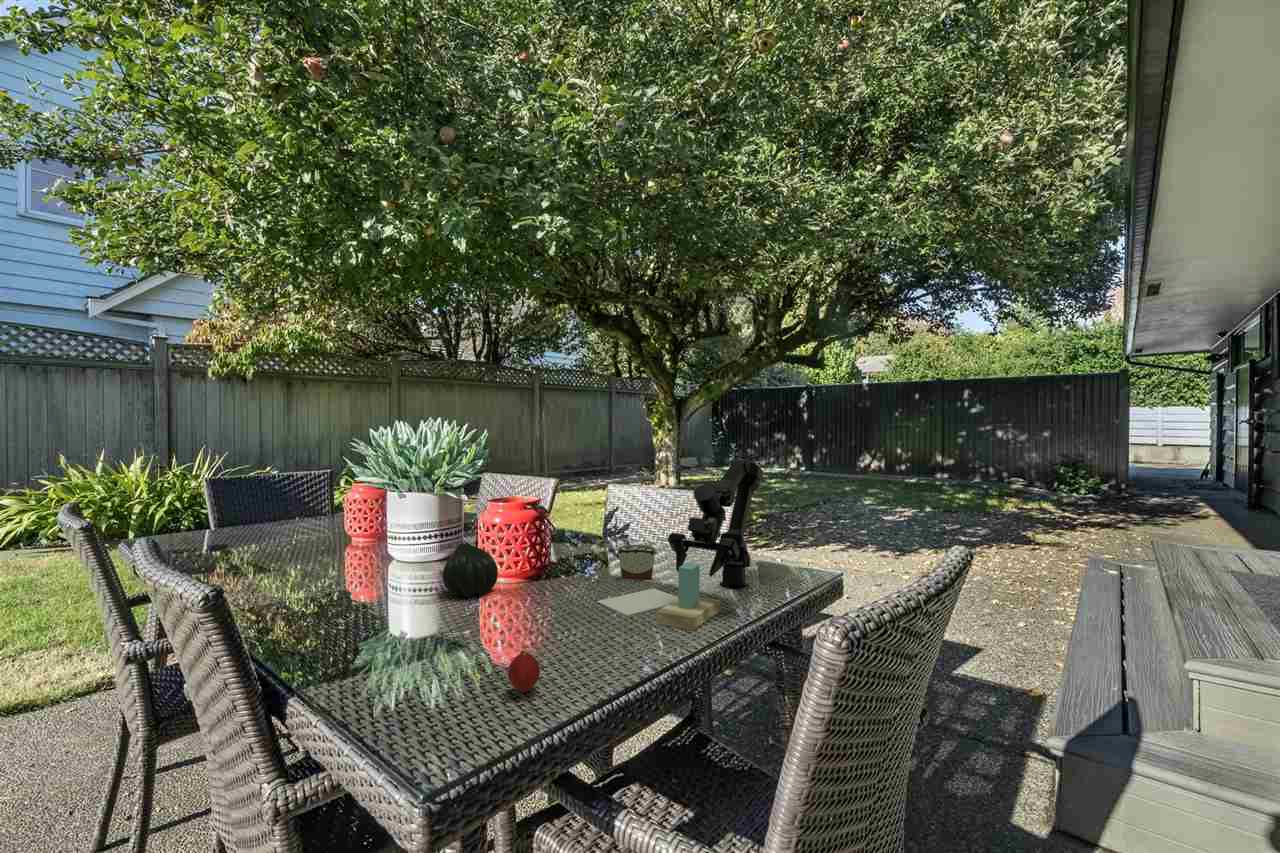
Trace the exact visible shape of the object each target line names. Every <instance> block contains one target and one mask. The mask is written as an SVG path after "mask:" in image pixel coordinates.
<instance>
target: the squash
mask: <svg viewBox="0 0 1280 853" xmlns="http://www.w3.org/2000/svg"><path fill="white" fill-rule="evenodd" d="M498 575H499V572H498V566H497V563H496V561H495V559H494V558H493V556H492V555H491V554H490V553H489V552H487V551H486V550H484V549H482V548H479V547H477V546H474V545H473V544H472V545H471V544H468V543H462V542H461V543H459V544H458V545H457V546H456V548H455V550H454V551H453V553H452V554H451V555H450V557H449V559H448V561H447V562H446V563H445V566H444V567H443V571H442V582H443V585H444V587H445V588H446V590H448V591H449V592H450V593H452V594H453V595H455V597H458V598H460V597H461V596H463V597H466V598H471V597H473V596H475V594H482V593H487V592H488V591H491V589H493V588H494V587H495V586H496V583H497V581H498ZM486 591H487V592H486ZM461 598H462V597H461Z"/></svg>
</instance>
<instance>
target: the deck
mask: <svg viewBox="0 0 1280 853" xmlns="http://www.w3.org/2000/svg"><path fill="white" fill-rule="evenodd" d="M678 602H679V598H678V599H676V600H675V601H673V602H671V603H670V604H668V605H666V606H665V607H663V608H659V609H657V610H656V624H658V625H662V626H667V627H668V626H669V627H673V628H679V629H683V630H688V631H693V632H695V631H696V630H697V629H699V626H700V627H701V626H703V625H704V624H705V623H706V622H708V621H709V620H710V619H711V617H712V618H713V617H714V616H716V615H717V614H718V613H720V599H714V598H708V597H701V596H699V605H697V606H696V607H694V608H693V609H686V608H680V607H678ZM715 614H716V615H715ZM707 620H708V621H707ZM703 623H704V624H703ZM695 629H696V630H695Z"/></svg>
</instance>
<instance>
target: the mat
mask: <svg viewBox="0 0 1280 853" xmlns="http://www.w3.org/2000/svg"><path fill="white" fill-rule="evenodd" d="M678 598H679V596H675V595H674V594H670V593H667V592H666V591H665V592H664V591H662V590H659V589H656V588H649V589H645V590H641V591H636V592H632V593H627V594H623V595H619V596H614V597H610V598H605V599H604V598H603V599H601V600H597V601H596V603H597V602H598V603H600V604H599V605H601V604H602V605H601V606H603V605H604V606H603V607H605V606H606V608H607V607H608V608H607V609H609V610H612V611H614V610H615V612H616V611H617V612H616V613H619V614H621V615H622V616H626V617H630V616H635V615H639V614H642V613H646V611H647V612H650V610H651V611H654V609H655V610H659V609H661V608H663V607H665V606H666V605H668V604H670V603H671V602H673V601H675V600H676V599H678ZM598 603H597V604H598ZM658 608H659V609H658ZM638 613H639V614H638ZM634 614H635V615H634Z"/></svg>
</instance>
